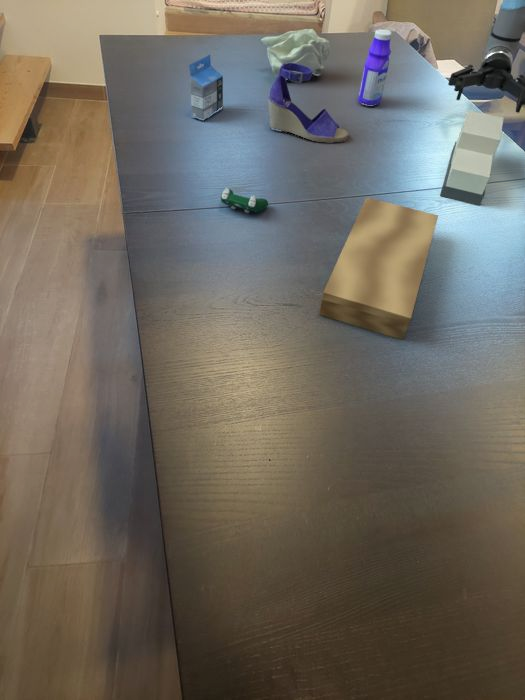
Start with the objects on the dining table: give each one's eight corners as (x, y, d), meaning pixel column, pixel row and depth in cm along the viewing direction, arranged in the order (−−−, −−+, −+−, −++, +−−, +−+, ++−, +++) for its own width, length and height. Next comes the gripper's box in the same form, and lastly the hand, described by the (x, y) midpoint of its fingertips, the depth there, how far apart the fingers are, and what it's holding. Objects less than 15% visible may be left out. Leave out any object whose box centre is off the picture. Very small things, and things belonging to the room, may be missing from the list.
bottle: (372, 110, 137) (388, 38, 123) (353, 104, 138) (367, 32, 125) (383, 101, 141) (400, 30, 128) (365, 95, 143) (379, 25, 130)
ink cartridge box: (204, 122, 126) (202, 69, 117) (191, 118, 127) (188, 65, 118) (223, 109, 132) (223, 57, 122) (210, 105, 133) (209, 54, 123)
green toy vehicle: (223, 208, 105) (214, 200, 100) (228, 190, 105) (219, 181, 99) (264, 219, 104) (257, 212, 98) (270, 201, 103) (263, 193, 97)
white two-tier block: (487, 159, 122) (504, 117, 115) (479, 205, 108) (498, 162, 101) (452, 151, 124) (466, 109, 117) (439, 196, 110) (455, 152, 103)
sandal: (342, 149, 121) (354, 83, 110) (263, 132, 125) (267, 66, 114) (349, 134, 127) (361, 70, 115) (273, 118, 130) (278, 54, 119)
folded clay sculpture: (277, 104, 151) (258, 57, 138) (278, 75, 157) (259, 28, 144) (337, 85, 145) (322, 34, 132) (335, 56, 150) (321, 4, 138)
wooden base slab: (430, 236, 100) (438, 215, 96) (402, 340, 81) (411, 318, 77) (361, 218, 103) (366, 196, 99) (318, 314, 84) (323, 292, 80)
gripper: (539, 93, 131) (538, 128, 118) (442, 74, 136) (430, 105, 123) (553, 62, 125) (553, 94, 112) (451, 43, 130) (440, 72, 117)
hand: (489, 100), depth 117 cm, fingers open, 13 cm apart
